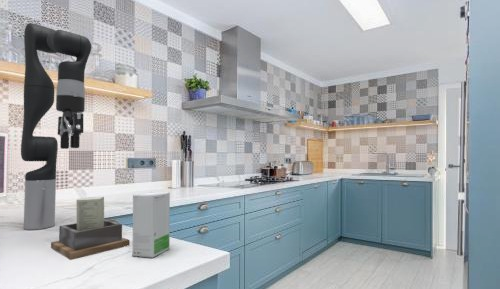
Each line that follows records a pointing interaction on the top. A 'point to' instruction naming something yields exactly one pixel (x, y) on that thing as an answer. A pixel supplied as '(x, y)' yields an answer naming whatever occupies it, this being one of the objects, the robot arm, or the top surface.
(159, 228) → the skincare box
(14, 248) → the top surface
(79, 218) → the skincare box
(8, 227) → the top surface
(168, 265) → the top surface
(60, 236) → the sleeve holder
